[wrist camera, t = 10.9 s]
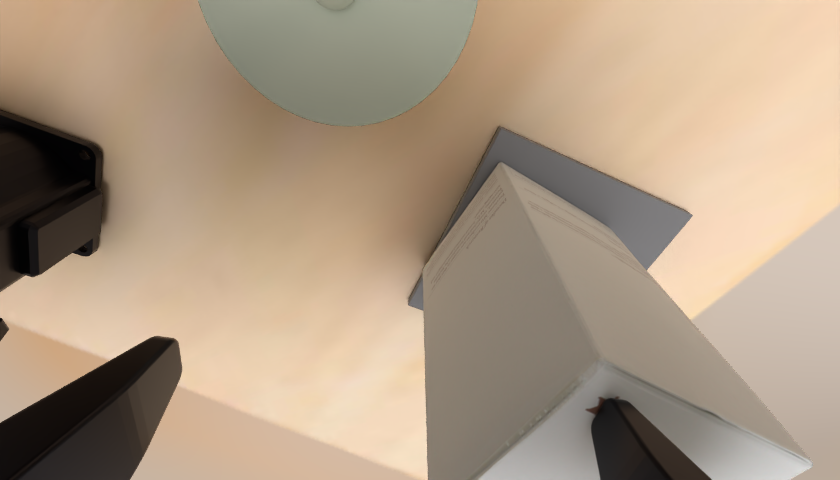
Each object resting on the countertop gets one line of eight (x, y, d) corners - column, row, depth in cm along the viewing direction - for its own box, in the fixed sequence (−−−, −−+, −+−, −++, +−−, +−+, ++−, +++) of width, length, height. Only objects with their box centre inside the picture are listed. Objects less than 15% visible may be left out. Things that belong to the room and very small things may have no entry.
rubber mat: (408, 299, 24) (408, 305, 23) (499, 126, 19) (501, 128, 18) (567, 354, 26) (570, 360, 25) (687, 211, 21) (692, 215, 20)
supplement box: (417, 269, 22) (415, 525, 11) (500, 156, 19) (610, 355, 8) (525, 323, 24) (613, 588, 13) (615, 229, 21) (833, 471, 10)
